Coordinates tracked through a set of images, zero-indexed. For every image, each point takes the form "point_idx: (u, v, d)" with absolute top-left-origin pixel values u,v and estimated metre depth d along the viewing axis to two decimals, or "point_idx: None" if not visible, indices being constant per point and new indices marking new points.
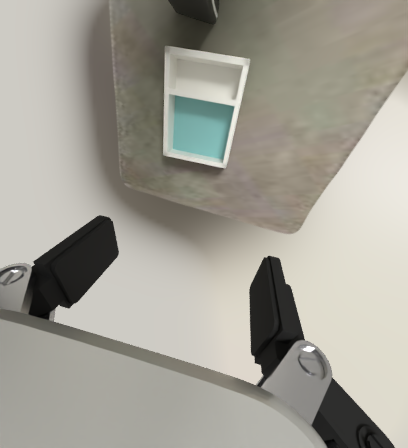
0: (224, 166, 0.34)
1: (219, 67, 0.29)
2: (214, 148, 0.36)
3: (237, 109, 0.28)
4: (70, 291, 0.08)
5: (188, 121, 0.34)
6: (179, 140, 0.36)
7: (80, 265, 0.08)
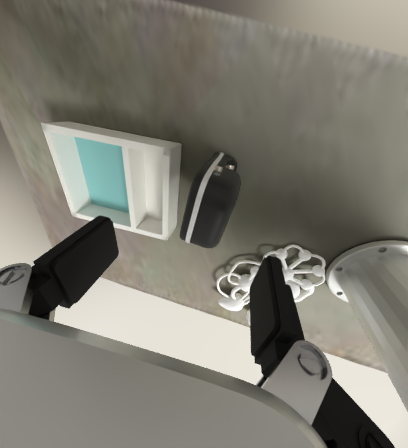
0: (73, 214, 0.27)
1: None
2: (98, 192, 0.28)
3: (129, 229, 0.26)
4: (70, 291, 0.08)
5: (114, 159, 0.24)
6: (87, 143, 0.24)
7: (80, 265, 0.08)
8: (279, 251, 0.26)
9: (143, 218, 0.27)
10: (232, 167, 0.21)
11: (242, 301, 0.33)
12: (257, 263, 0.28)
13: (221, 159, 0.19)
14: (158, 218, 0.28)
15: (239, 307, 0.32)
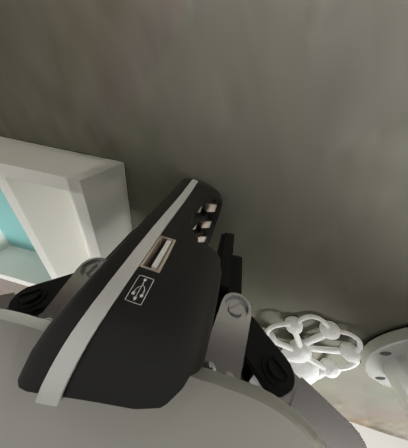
0: None
1: None
2: (14, 231, 0.18)
3: None
4: None
5: None
6: None
7: None
8: (291, 323, 0.17)
9: None
10: (213, 206, 0.11)
11: None
12: None
13: (186, 200, 0.09)
14: None
15: None
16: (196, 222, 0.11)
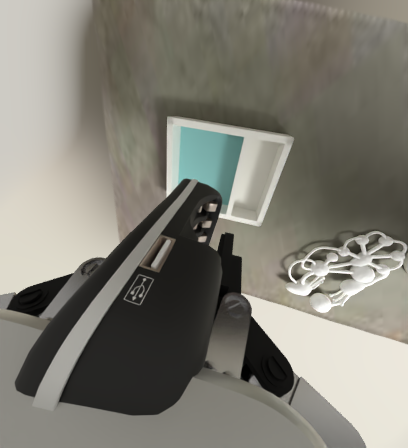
0: None
1: (262, 190, 0.28)
2: None
3: (223, 216, 0.28)
4: None
5: (216, 150, 0.26)
6: (192, 136, 0.26)
7: None
8: (361, 237, 0.28)
9: None
10: (213, 206, 0.11)
11: (310, 286, 0.35)
12: (337, 249, 0.30)
13: (186, 200, 0.09)
14: (244, 207, 0.30)
15: (308, 292, 0.34)
16: (196, 222, 0.11)
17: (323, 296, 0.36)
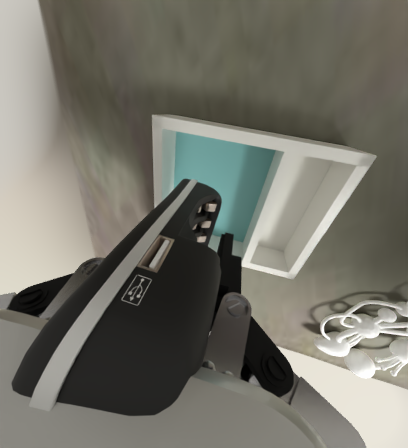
0: None
1: (296, 225, 0.19)
2: None
3: None
4: None
5: (229, 168, 0.17)
6: (194, 145, 0.17)
7: None
8: None
9: None
10: (213, 206, 0.11)
11: (349, 345, 0.26)
12: (396, 306, 0.21)
13: (185, 200, 0.09)
14: (266, 245, 0.21)
15: (346, 353, 0.26)
16: (196, 222, 0.11)
17: (364, 356, 0.27)
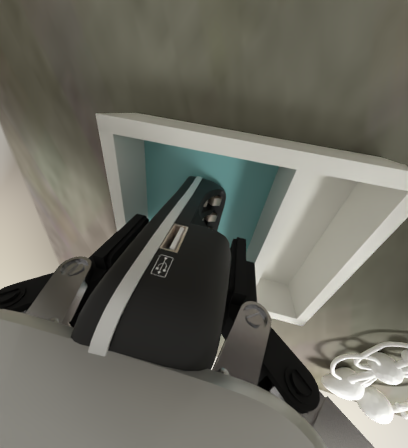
0: None
1: (305, 255, 0.15)
2: None
3: None
4: None
5: None
6: (170, 155, 0.12)
7: None
8: None
9: None
10: (218, 200, 0.12)
11: (363, 386, 0.22)
12: None
13: (193, 194, 0.10)
14: (267, 277, 0.17)
15: (361, 396, 0.22)
16: (203, 216, 0.12)
17: (380, 397, 0.23)
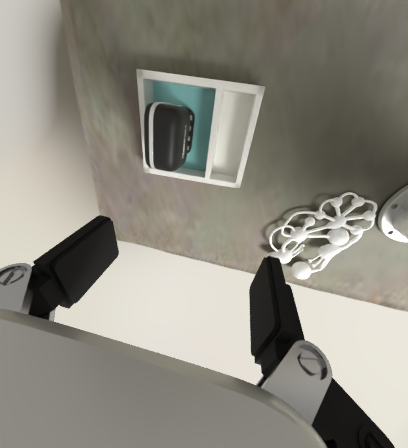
0: (146, 170, 0.28)
1: (240, 152, 0.28)
2: None
3: (202, 180, 0.28)
4: (70, 291, 0.08)
5: None
6: (166, 95, 0.25)
7: (80, 265, 0.08)
8: (335, 199, 0.29)
9: (211, 171, 0.29)
10: (190, 116, 0.25)
11: (291, 254, 0.36)
12: (313, 212, 0.31)
13: (177, 106, 0.23)
14: (223, 172, 0.30)
15: (289, 259, 0.35)
16: None
17: (303, 263, 0.37)
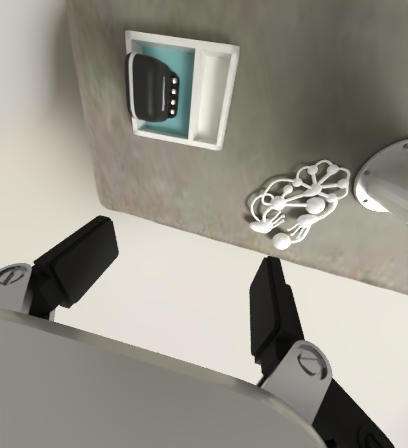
0: (135, 132, 0.31)
1: None
2: None
3: (185, 142, 0.30)
4: (70, 291, 0.08)
5: None
6: None
7: (80, 265, 0.08)
8: (311, 166, 0.31)
9: (195, 136, 0.31)
10: (175, 79, 0.27)
11: (271, 223, 0.38)
12: (291, 179, 0.33)
13: None
14: (207, 138, 0.32)
15: (269, 228, 0.37)
16: None
17: (283, 234, 0.38)
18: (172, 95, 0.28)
